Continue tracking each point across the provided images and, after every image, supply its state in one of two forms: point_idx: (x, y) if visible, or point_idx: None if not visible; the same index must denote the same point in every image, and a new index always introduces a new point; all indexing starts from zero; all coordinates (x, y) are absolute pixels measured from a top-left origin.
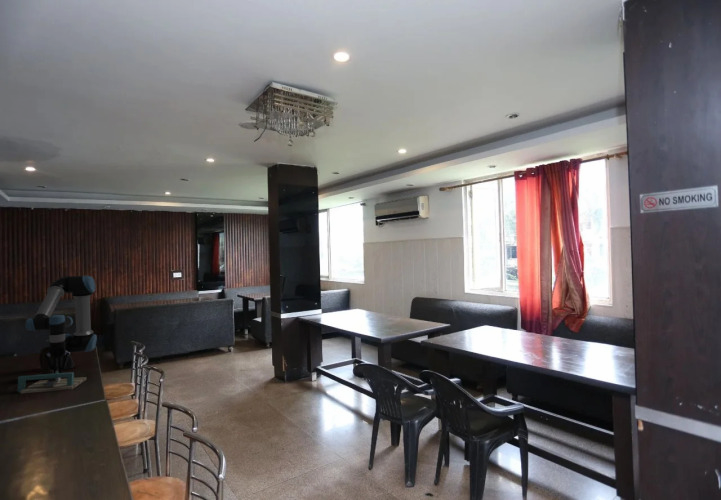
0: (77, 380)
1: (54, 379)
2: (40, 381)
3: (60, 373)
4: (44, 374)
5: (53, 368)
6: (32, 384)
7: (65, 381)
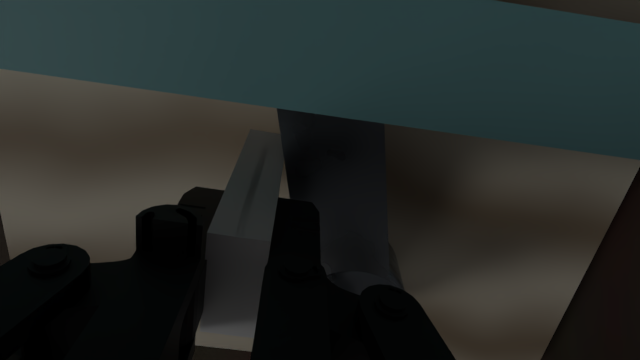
0: (54, 210)
1: None
2: (512, 350)
3: (77, 27)
4: (502, 115)
5: (323, 306)
6: (590, 259)
7: None
